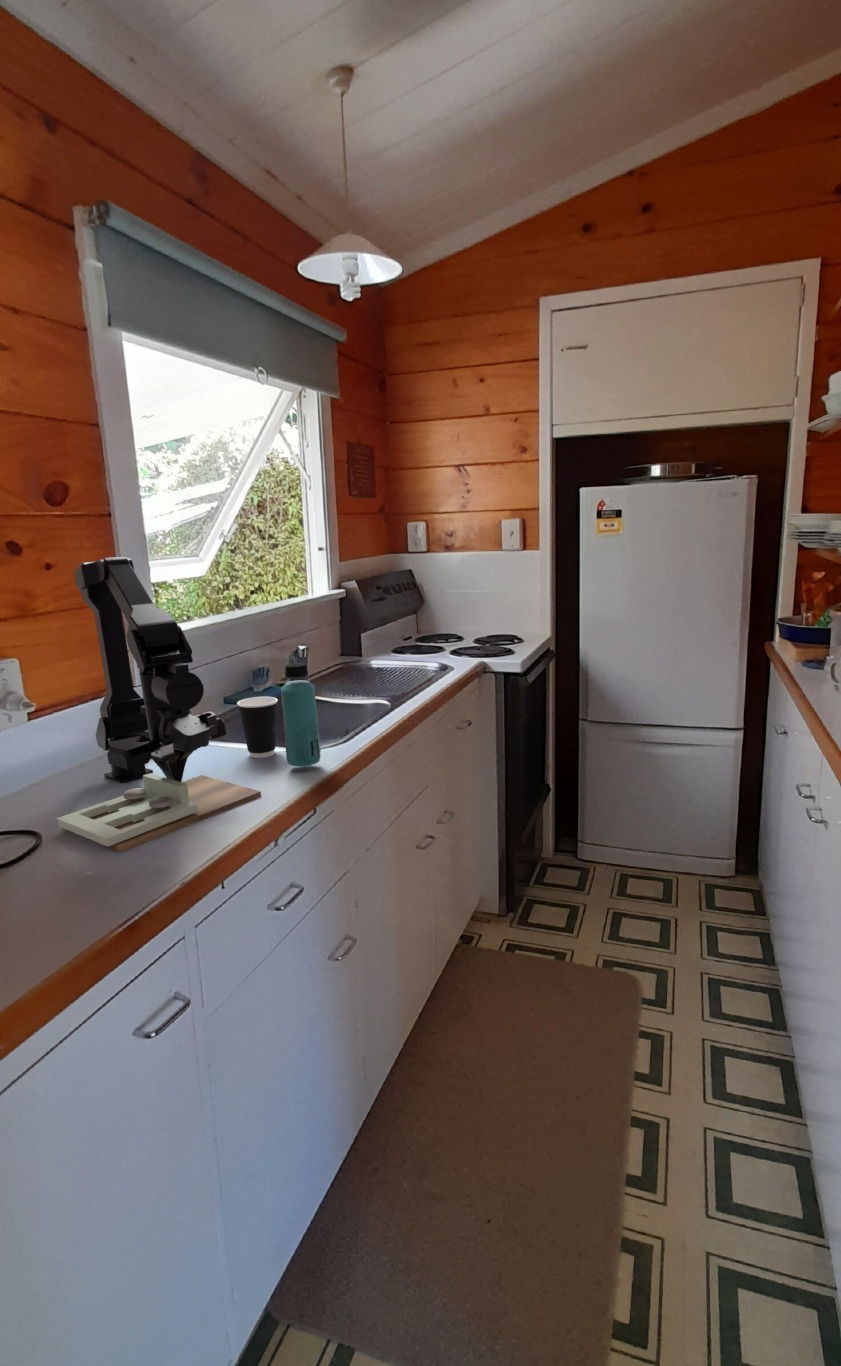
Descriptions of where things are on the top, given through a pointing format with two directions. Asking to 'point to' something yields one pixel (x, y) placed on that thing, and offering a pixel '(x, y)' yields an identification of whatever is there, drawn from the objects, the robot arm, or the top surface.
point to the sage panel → (131, 813)
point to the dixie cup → (259, 725)
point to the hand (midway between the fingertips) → (177, 790)
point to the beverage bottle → (300, 718)
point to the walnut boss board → (201, 791)
